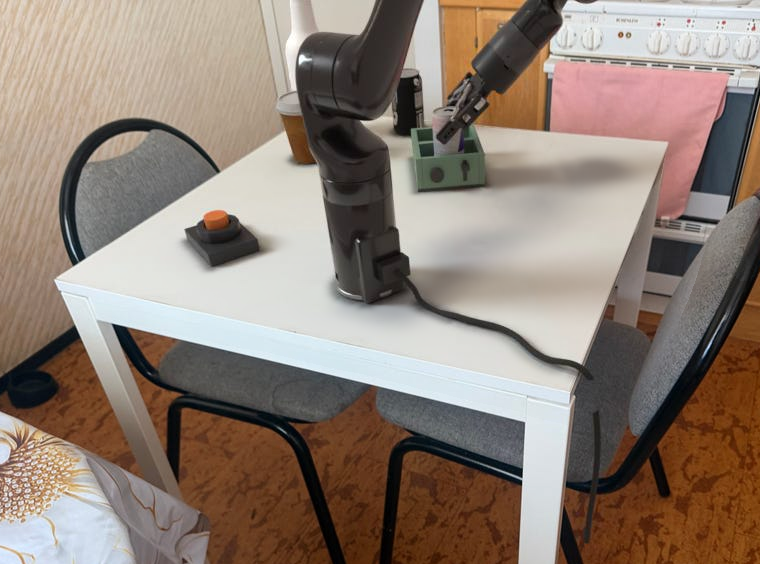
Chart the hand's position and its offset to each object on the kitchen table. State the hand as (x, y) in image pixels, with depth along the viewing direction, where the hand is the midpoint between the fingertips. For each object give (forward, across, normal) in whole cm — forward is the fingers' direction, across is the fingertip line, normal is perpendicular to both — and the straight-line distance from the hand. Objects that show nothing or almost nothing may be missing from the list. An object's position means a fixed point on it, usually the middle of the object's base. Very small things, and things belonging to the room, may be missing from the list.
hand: (438, 133), depth 121 cm
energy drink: (+5, 0, +7) cm, 9 cm away
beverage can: (+9, -27, +3) cm, 29 cm away
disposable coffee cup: (+24, -16, -11) cm, 31 cm away
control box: (+32, +18, -20) cm, 42 cm away
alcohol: (+23, -28, -10) cm, 37 cm away
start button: (+29, +18, -22) cm, 41 cm away
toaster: (+5, -4, +7) cm, 10 cm away
